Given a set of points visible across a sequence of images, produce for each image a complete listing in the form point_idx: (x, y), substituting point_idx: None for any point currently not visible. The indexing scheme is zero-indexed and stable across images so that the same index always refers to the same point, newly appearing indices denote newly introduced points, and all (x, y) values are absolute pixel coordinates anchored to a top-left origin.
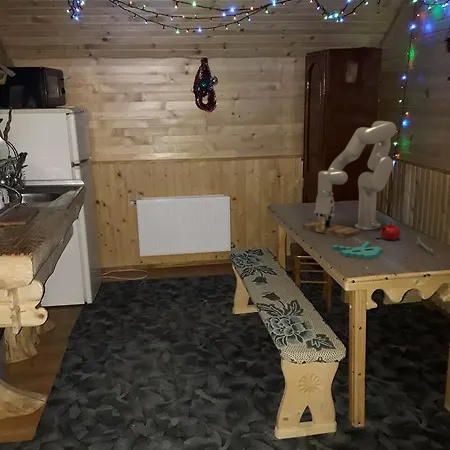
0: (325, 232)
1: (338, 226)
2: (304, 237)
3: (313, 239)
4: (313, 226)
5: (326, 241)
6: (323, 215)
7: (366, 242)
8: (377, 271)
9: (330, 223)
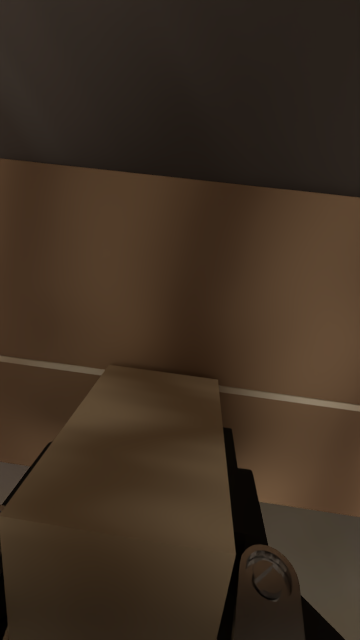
0: None
1: (312, 279)
2: None
3: None
4: (24, 464)
5: (352, 636)
6: (19, 586)
7: None
8: None
9: (220, 406)
